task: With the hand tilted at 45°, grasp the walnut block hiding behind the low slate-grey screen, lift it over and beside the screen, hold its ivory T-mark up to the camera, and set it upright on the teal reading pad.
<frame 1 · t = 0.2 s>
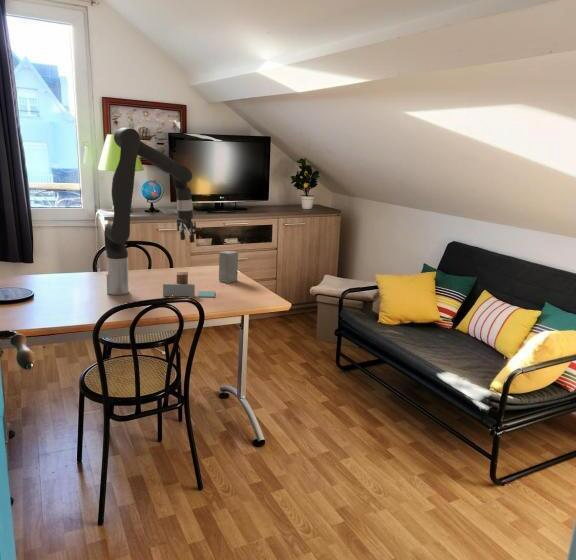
hand: (187, 241, 261), 22 cm above the table, tool pointing down, fingers open, 8 cm apart
reading pad: (206, 294, 251), on the table
marked block: (182, 293, 251), on the table
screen: (178, 296, 246), on the table
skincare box: (227, 281, 277), on the table
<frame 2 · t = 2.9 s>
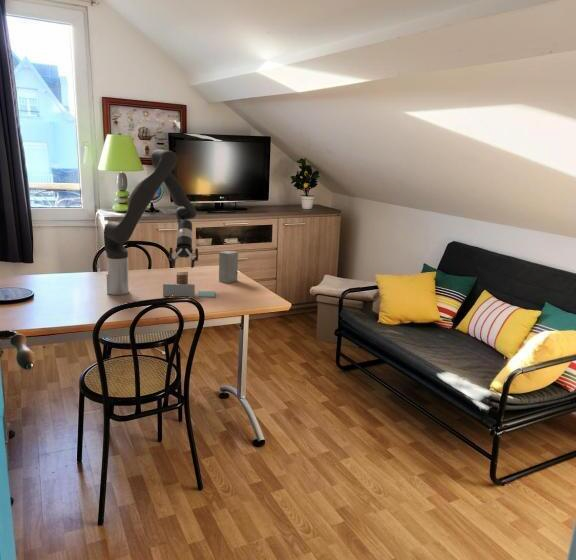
hand: (183, 267, 255), 11 cm above the table, tool tilted 45°, fingers open, 8 cm apart
nothing on the table moved.
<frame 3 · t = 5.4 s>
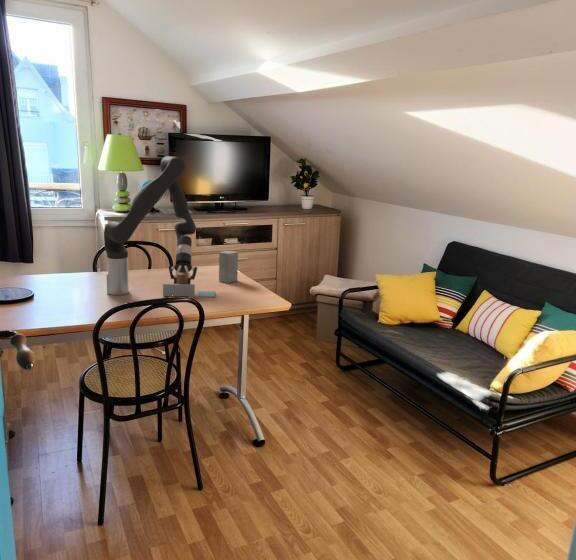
hand: (182, 286, 248), 4 cm above the table, tool tilted 45°, fingers closed on marked block, 5 cm apart
marked block: (182, 293, 251), on the table, touching gripper
everything else where it was.
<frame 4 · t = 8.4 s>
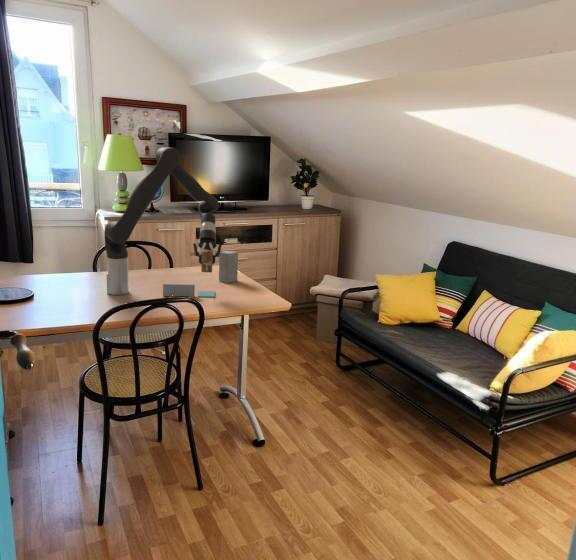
hand: (207, 263, 245), 16 cm above the table, tool tilted 45°, fingers closed on marked block, 5 cm apart
marked block: (206, 270, 248), point 12 cm above the table, touching gripper
everything else where it was.
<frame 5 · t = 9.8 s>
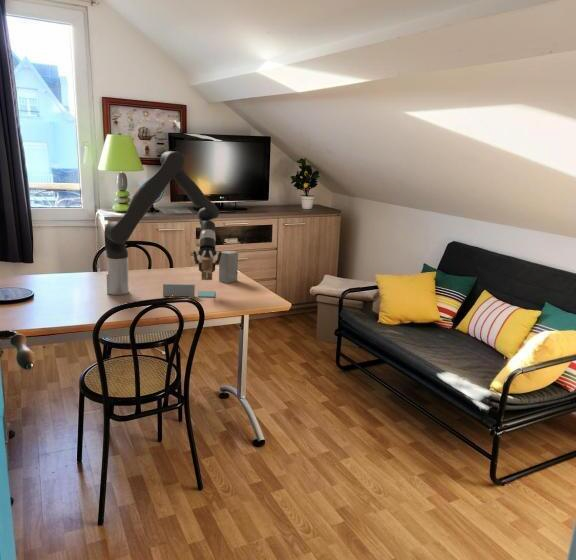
hand: (207, 271, 246), 12 cm above the table, tool tilted 45°, fingers closed on marked block, 5 cm apart
marked block: (206, 278, 249), point 8 cm above the table, touching gripper
everything else where it was.
when the fingers open (6 cm above the table, at t = 11.3 s): marked block drops 1 cm, resting on reading pad.
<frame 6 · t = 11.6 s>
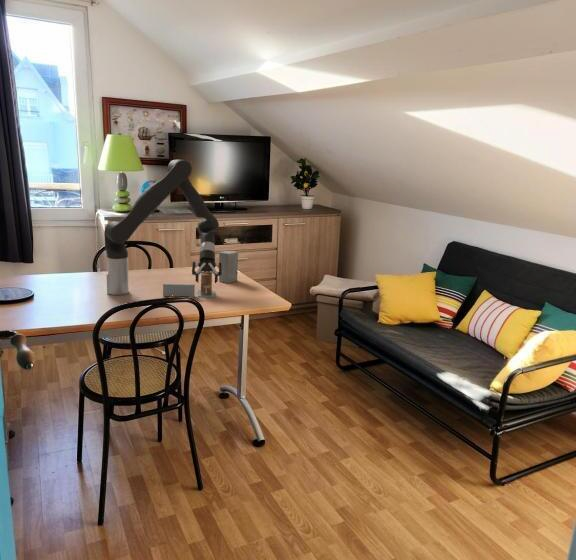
hand: (206, 282, 248), 7 cm above the table, tool tilted 45°, fingers open, 8 cm apart
marked block: (206, 293, 251), point 1 cm above the table, touching reading pad
everything else where it was.
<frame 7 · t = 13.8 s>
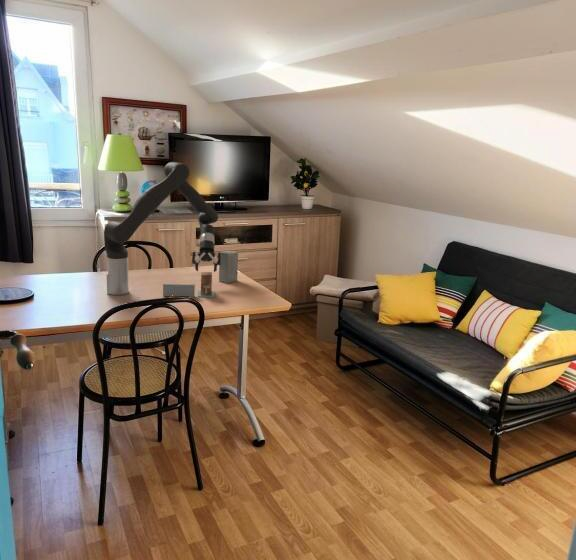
hand: (206, 270, 260), 9 cm above the table, tool tilted 45°, fingers open, 8 cm apart
nothing on the table moved.
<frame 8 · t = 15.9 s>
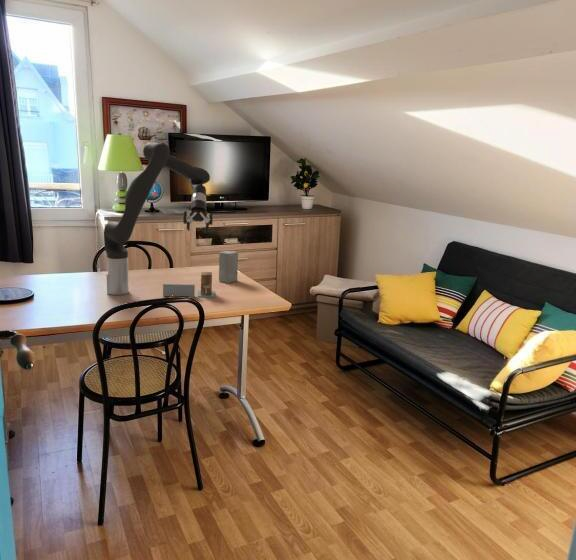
hand: (197, 230, 256), 29 cm above the table, tool tilted 45°, fingers open, 8 cm apart
nothing on the table moved.
at the end: marked block 0.1 cm off-centre on the reading pad, point 0.6 cm above the reading pad's base; marked block tilted 0°; the gripper is holding nothing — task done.
